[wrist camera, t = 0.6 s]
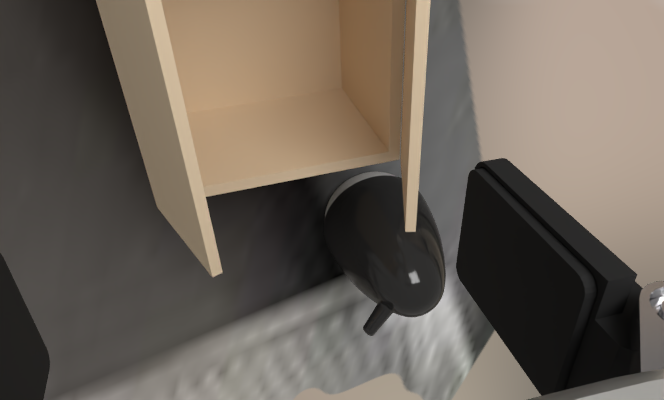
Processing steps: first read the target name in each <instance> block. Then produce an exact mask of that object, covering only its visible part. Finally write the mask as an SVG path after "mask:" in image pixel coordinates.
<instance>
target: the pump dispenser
mask: <svg viewBox="0 0 664 400" xmlns="http://www.w3.org/2000/svg"><path fill="white" fill-rule="evenodd" d="M323 234H324V239H325V242H326V244H327V247H328V249H329V251H330V253H331V254H332V256H333V257H334V259H335V261H336V262H337V264H338V265H339V266H340V268H341V269H342V271H343V272H344V273H345V275H346V276H347V277H348V278H349V279H350V280H351V282H352V283H353V284H354V285H355V286H356V287H357V288H358V289H359V290H360V291H362V292H363V293H364V294H365V295H366V296H367V297H369V298H370V299H371V300H373V301H374V302H376V303H377V306H376V307H375V309H374V311H373V312H372V314H371V315H370V317H369V319H368V320H367V322H366V323H365V325H364V327H363V330H364V331H365V332H366V333H367V334H368V335H370V336H373V335H374V334H375V333H376V332H377V330H378V329H379V328H380V327H381V326H382V325H383V323H384V322H385V321H386V320H387V319H388V318H389V316H390V315H391V314H392V313H396V314H398V315H401V316H405V317H418V316H422V315H424V314H426V313H428V312H430V311H431V310H432V309H433V308H435V307H436V305H437V304H438V303H439V301H440V300H441V298H442V295H443V292H444V287H445V277H446V272H445V260H444V253H443V247H442V242H441V238H440V234H439V231H438V228H437V225H436V223H435V220H434V218H433V215H432V213H431V211H430V209H429V207H428V205H427V203H426V201H425V199H424V198H423V196H422V195H421V193H420V192H419V191H418V203H417V219H416V232H405V221H404V205H403V189H402V178H400V177H396V176H394V175H392V174H389V173H384V172H366V173H362V174H359V175H356V176H354V177H352V178H350V179H348V180H347V181H345V182H344V183H343V184H341V185H340V186H339V187H338V188H337V190H336V191H335V192H334V193H333V195H332V196H331V198H330V200H329V202H328V205H327V208H326V213H325V219H324V224H323Z"/></svg>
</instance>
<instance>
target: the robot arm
mask: <svg viewBox="0 0 664 400" xmlns="http://www.w3.org/2000/svg"><path fill="white" fill-rule="evenodd" d="M456 268H457V274H458V276H459V279H460V281H461V282H462V284H463V285H464V286H465V288H466V289H467V291H468V292H469V293H470V295H471V296H472V298H473V299H474V301H475V302H476V303H477V305H478V306H479V308H480V309H481V311H482V312H483V313H484V315H485V316H486V318H487V319H488V320H489V322H490V323H491V325H492V326H493V328H494V329H495V330H496V332H497V333H498V335H499V336H500V338H501V339H502V340H503V342H504V343H505V345H506V346H507V347H508V349H509V350H510V352H511V353H512V355H513V356H514V357H515V359H516V360H517V362H518V363H519V364H520V366H521V367H522V369H523V370H524V372H525V373H526V374H527V376H528V377H529V379H530V380H531V381H532V383H533V384H534V386H535V387H536V389H537V390H538V391H539V393H540V394H541V395H542V396H539V397H536V398H532V399H528V400H664V281H656V282H653V283H650V284H647V285H646V286H645V287H644V288H641V287H640V286H639V285H638V284H637V283H636V282H635V279H636V276H637V274H636V273H635V272H634V271H633V270H631V269H630V268H629V267H628V266H627V265H626V264H625V263H624V262H622V261H621V260H620V259H619V258H618V257H617V256H616V255H614V253H612V252H611V251H610V250H609V249H608V248H607V247H606V246H604V245H603V244H602V243H601V242H600V241H599V240H598V239H597V238H595V237H594V236H593V235H592V234H591V233H589V231H588V230H586V229H585V228H584V227H583V226H582V225H581V224H580V223H579V222H577V221H576V220H575V219H574V218H573V217H572V216H571V215H569V214H568V213H567V212H566V211H565V210H564V209H563V208H561V207H560V206H559V205H558V204H557V203H556V202H555V201H554V200H553V199H551V198H550V197H549V196H548V195H547V194H546V193H545V192H544V191H542V190H541V189H540V188H539V187H538V186H537V185H536V184H534V183H533V182H532V181H531V180H530V179H529V178H528V177H527V176H525V175H524V174H523V173H522V172H521V171H520V170H519V169H518V168H516V167H515V166H514V165H513V164H512V163H511V162H510V161H508V160H507V159H504V158H501V159H495V160H489V161H483V162H479V163H478V164H477V165H476V167H475V170H472V171H470V173H469V176H468V183H467V190H466V197H465V204H464V212H463V219H462V226H461V234H460V241H459V248H458V256H457V263H456ZM49 368H50V360H49V354H48V351H47V348H46V346H45V344H44V342H43V340H42V338H41V336H40V334H39V331H38V329H37V327H36V325H35V323H34V321H33V319H32V317H31V315H30V313H29V310H28V308H27V306H26V304H25V302H24V300H23V298H22V296H21V294H20V292H19V289H18V287H17V285H16V283H15V281H14V279H13V277H12V275H11V273H10V270H9V268H8V266H7V264H6V262H5V260H4V258H3V256H2V255H1V253H0V400H43V398H44V393H45V388H46V383H47V379H48V374H49Z"/></svg>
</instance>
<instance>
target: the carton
mask: <svg viewBox="0 0 664 400" xmlns="http://www.w3.org/2000/svg"><path fill="white" fill-rule="evenodd" d="M161 2H162V7H163V11H164V15H165V20H166V24H167V29H168V33H169V38H170V42H171V46H172V51H173V55H174V60H175V64H176V68H177V73H178V77H179V82H180V86H181V91H182V95H183V99H184V104H185V108H186V113H187V117H188V122H189V126H190V130H191V135H192V139H193V144H194V148H195V152H196V157H197V161H198V166H199V170H200V175H201V179H202V183H203V188H204V192H205V197H208V196H213V195H218V194H224V193H229V192H234V191H239V190H244V189H249V188H255V187H260V186H265V185H270V184H275V183H280V182H286V181H291V180H296V179H301V178H306V177H311V176H316V175H322V174H327V173H332V172H337V171H342V170H347V169H353V168H358V167H363V166H368V165H373V164H378V163H384V162H389V161H394V160H399V156H400V129H401V102H402V74H403V47H404V20H405V0H161Z"/></svg>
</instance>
